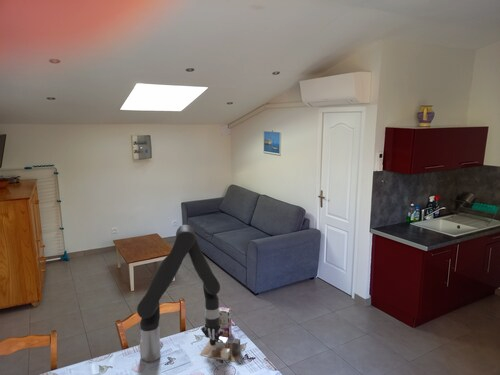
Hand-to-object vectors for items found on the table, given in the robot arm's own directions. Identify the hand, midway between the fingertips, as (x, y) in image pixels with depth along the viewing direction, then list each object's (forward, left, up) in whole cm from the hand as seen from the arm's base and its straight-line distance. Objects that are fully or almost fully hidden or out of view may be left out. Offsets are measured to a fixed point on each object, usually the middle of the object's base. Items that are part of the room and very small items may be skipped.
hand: (213, 344), depth 187 cm
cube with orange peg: (+5, -2, -2) cm, 6 cm away
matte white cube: (+9, -4, -2) cm, 10 cm away
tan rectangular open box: (+5, 0, -3) cm, 6 cm away
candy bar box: (-1, +14, -3) cm, 14 cm away
